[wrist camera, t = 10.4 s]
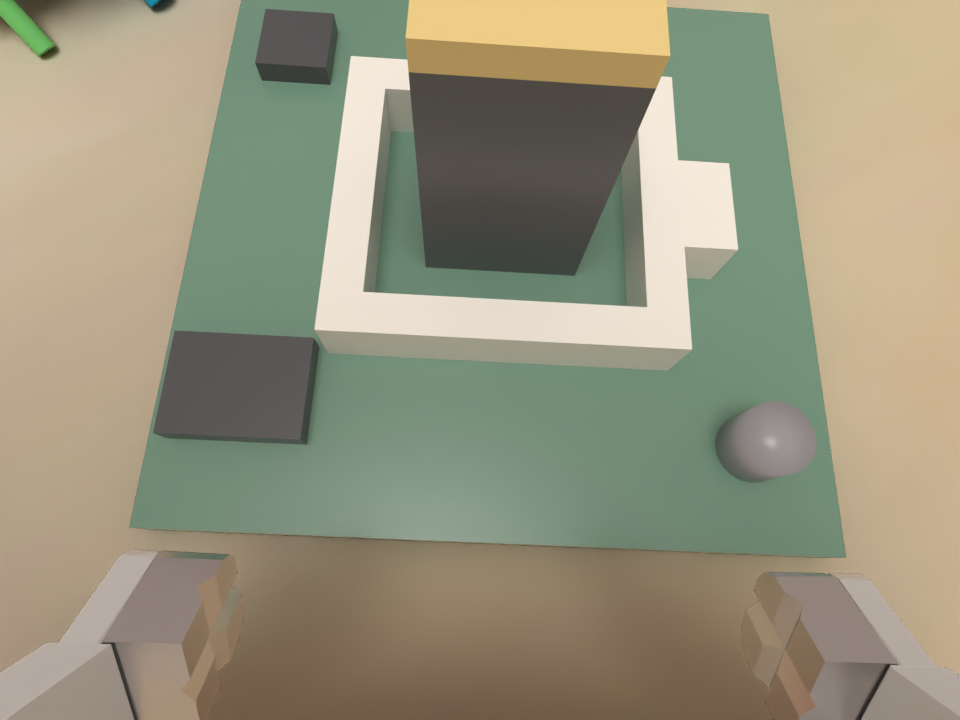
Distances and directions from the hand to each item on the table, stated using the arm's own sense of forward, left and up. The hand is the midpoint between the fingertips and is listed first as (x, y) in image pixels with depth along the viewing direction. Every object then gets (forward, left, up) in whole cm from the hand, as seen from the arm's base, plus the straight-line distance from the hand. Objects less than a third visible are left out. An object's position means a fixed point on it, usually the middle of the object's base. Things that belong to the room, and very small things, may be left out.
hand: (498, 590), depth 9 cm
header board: (0, +11, -8) cm, 14 cm away
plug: (0, +11, -7) cm, 13 cm away
